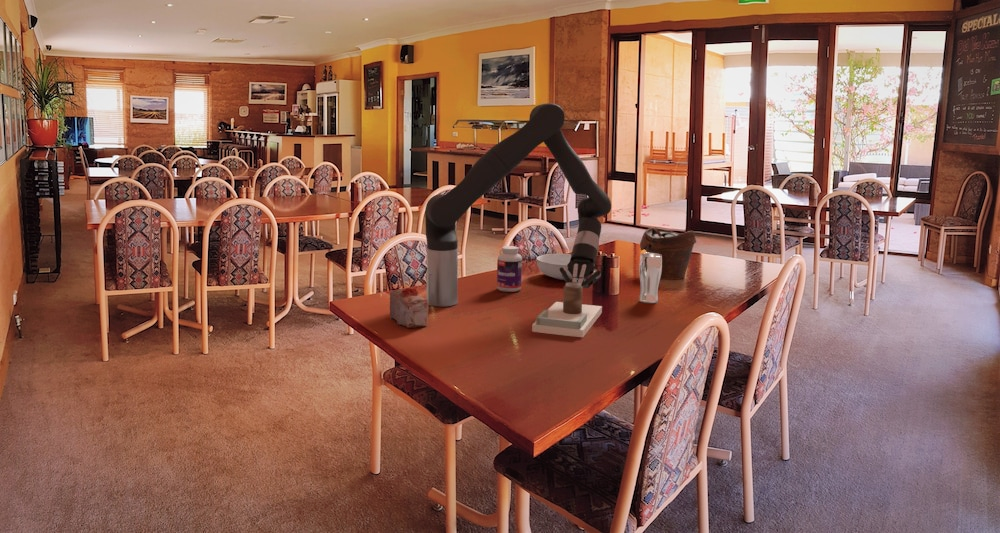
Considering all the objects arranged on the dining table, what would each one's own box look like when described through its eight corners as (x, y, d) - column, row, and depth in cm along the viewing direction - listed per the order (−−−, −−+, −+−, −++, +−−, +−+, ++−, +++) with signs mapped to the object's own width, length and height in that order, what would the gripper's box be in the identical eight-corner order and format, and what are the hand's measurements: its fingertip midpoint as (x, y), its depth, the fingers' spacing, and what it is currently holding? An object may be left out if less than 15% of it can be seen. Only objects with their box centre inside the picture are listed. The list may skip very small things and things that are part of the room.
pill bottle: (493, 291, 240) (493, 248, 237) (502, 286, 247) (503, 244, 244) (516, 293, 237) (517, 250, 234) (524, 288, 244) (525, 246, 241)
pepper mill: (566, 314, 206) (567, 286, 205) (560, 309, 212) (561, 282, 210) (584, 313, 208) (585, 285, 206) (578, 308, 213) (579, 281, 211)
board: (556, 308, 221) (556, 295, 220) (601, 312, 216) (602, 299, 215) (532, 331, 197) (532, 317, 196) (582, 337, 192) (583, 323, 191)
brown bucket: (637, 268, 278) (640, 222, 274) (690, 271, 275) (694, 224, 271) (639, 280, 260) (642, 230, 256) (696, 283, 258) (700, 233, 254)
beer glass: (661, 299, 233) (664, 253, 229) (656, 304, 226) (659, 257, 223) (640, 297, 235) (643, 251, 232) (634, 302, 229) (637, 255, 226)
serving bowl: (578, 287, 248) (579, 267, 247) (525, 278, 259) (525, 260, 257) (603, 276, 265) (604, 257, 264) (552, 268, 276) (553, 251, 275)
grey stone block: (432, 327, 199) (432, 292, 197) (406, 331, 195) (405, 295, 193) (410, 315, 211) (410, 282, 208) (385, 319, 206) (384, 285, 204)
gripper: (562, 240, 220) (550, 289, 211) (605, 243, 216) (595, 293, 207) (565, 254, 226) (554, 302, 217) (608, 258, 222) (598, 306, 213)
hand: (574, 297), depth 212 cm, fingers closed
